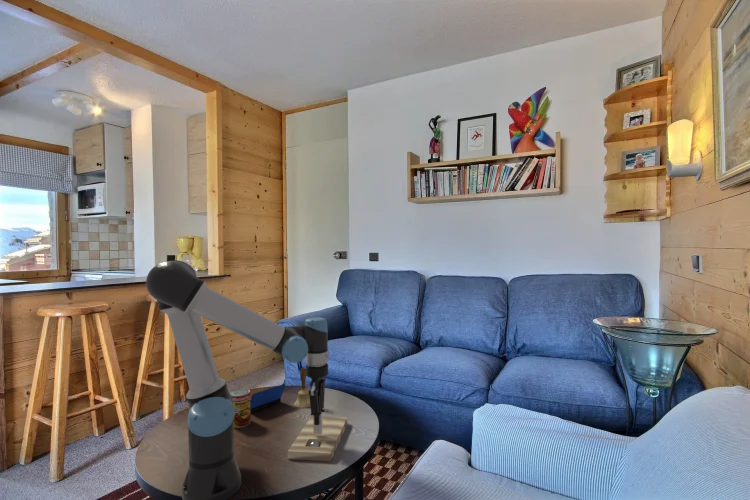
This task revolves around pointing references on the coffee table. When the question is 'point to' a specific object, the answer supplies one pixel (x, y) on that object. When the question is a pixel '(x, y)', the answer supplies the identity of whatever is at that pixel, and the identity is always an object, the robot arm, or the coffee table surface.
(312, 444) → the ball
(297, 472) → the coffee table surface
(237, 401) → the canned food
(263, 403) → the handheld game console
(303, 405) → the hand bell
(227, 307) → the robot arm
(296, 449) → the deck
